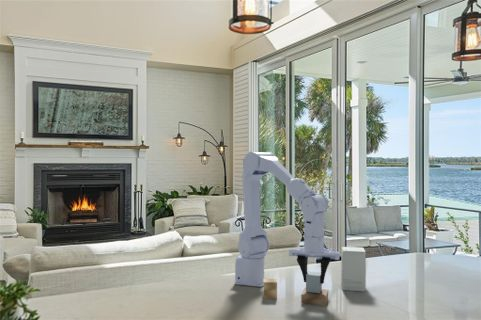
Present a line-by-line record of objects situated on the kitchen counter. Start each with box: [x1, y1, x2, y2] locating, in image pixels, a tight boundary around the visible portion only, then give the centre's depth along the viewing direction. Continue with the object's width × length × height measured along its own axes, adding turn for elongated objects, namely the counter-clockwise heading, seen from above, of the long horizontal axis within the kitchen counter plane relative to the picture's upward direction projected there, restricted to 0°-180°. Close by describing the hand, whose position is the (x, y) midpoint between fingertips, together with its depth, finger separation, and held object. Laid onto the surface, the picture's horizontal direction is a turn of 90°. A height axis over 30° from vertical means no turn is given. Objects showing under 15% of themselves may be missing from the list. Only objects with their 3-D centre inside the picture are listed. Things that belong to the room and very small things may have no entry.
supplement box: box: [340, 246, 367, 292], centre depth 137 cm, size 7×7×13 cm
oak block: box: [263, 277, 278, 300], centre depth 128 cm, size 4×4×5 cm
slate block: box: [305, 270, 323, 293], centre depth 125 cm, size 4×4×5 cm
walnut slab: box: [300, 287, 329, 307], centre depth 124 cm, size 7×7×3 cm
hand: (313, 282), depth 124 cm, fingers open, 4 cm apart
